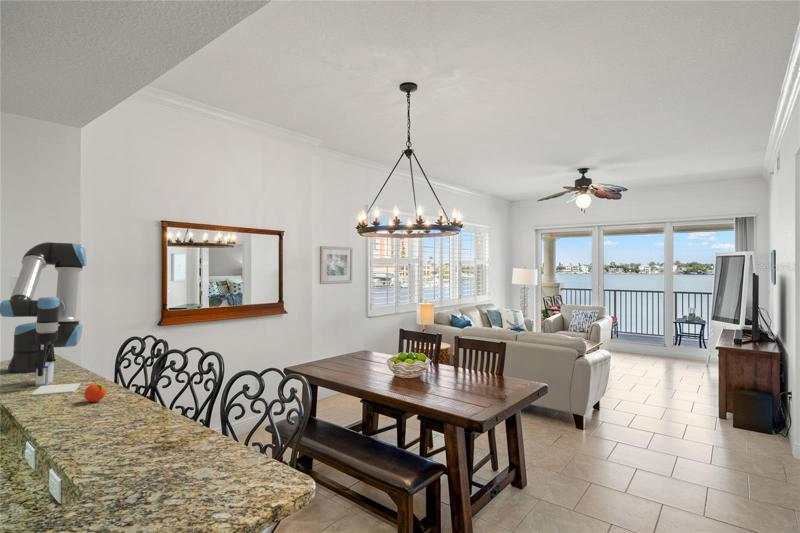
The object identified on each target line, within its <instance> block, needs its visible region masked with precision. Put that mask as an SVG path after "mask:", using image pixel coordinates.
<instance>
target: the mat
mask: <svg viewBox="0 0 800 533" xmlns="http://www.w3.org/2000/svg"><path fill="white" fill-rule="evenodd" d="M79 385H80V386H81V382H79V383H77V382H76V383H63V384H62V383H61V384H48V385H47V386H38V387H37V388H36V390H34V391H33V392H32V393H31V394H30V396H31V397H32V396H44V395H55V394H56V395H57V394H69V393H71V394H72V393H75V392H76V391H77V389H78V388H79V387H80V386H79Z"/></svg>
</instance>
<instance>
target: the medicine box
mask: <svg viewBox="0 0 800 533" xmlns="http://www.w3.org/2000/svg"><path fill="white" fill-rule="evenodd" d="M44 368H45V383H42V384H36V380H35V384H34V387H40V386H47V385H51V383H53V382H54V373H55V362H53V363H45V367H44ZM36 376H37V369H36V371H35V377H36Z"/></svg>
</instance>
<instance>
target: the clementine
mask: <svg viewBox="0 0 800 533" xmlns="http://www.w3.org/2000/svg"><path fill="white" fill-rule="evenodd" d="M106 389H107V388H106V387H105V386H104V385H103V384H102V383H93V384H90V385H88V386H87V387H86V388H85V390H84V393H83V395H84V398H85V400H87V401H88V402H90V403H92V402H93V403H95V402H96V403H97V402H99V401H101V400H102V399H103V398H104V397H105V395H106V393H107V390H106Z"/></svg>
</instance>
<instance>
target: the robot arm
mask: <svg viewBox="0 0 800 533" xmlns="http://www.w3.org/2000/svg"><path fill="white" fill-rule="evenodd" d="M21 264H22V267H21V270H20V272H19V274H18V277H17V279H16V282H15V284H14V287H13V290H12V293H11V295H10V297H9V298H10V299H4V300H2V301H1V302H0V316H1V317H5V318H24V317H28V318H29V317H36V322H29V323H23V324H19V325H17V326H15V328H14V334H13V351H12V352H13V354H12V357H11V359H10V361H9V364H8V366H7V372H8V373H12V374H13V373H32V372H36V369H37V376H36V375H35V381H36V384H42V383H45V368H44V367H45V363H54V362H56V360H57V359H55V358H56V357H55V348H70V347H71V348H72V347H76V346H78V344H79V343H80V339H81V336H82V333H83V324H82V323H80V320H79V319H78V318H77V317H76V316H77V315H76V314H77V302H78V285H79V275H80V274H79V273H80V272H81V271H82V270H83V267H85V266H87V253H86V248H85V246H84V245H83V244H80V243H73V242H72V243H71V242H68V243H66V242H51V241H46V242H42V243H39V244H37V245H34V246H33V247H31V248H30V249H29V250H27V251H26V253H25V254H24V255H23V257H22V259H21ZM49 265H50V266H54V270H56V271H57V283H56V293H55V295H56V296H42V297H39V298H38V299H37V300H34V299H33V298H34V294H35V292H36V288H37V285H38V283H39V281H40V276H41V274H42V270H43V269H45V268H46V267H47V266H49Z"/></svg>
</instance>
